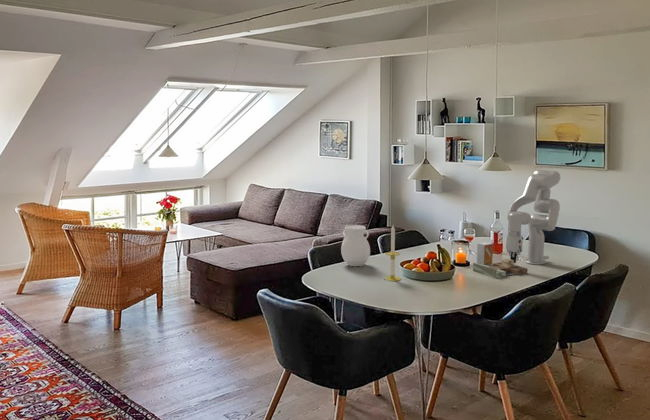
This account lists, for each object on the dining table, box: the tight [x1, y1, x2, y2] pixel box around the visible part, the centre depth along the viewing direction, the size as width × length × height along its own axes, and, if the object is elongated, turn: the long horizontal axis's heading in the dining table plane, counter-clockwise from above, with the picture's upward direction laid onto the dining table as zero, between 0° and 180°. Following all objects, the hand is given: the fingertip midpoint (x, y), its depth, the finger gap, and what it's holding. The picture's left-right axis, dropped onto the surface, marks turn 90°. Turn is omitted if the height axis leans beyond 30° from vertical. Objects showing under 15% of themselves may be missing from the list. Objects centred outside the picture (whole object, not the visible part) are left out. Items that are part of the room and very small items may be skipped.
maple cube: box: [501, 258, 515, 268], centre depth 393 cm, size 5×5×4 cm
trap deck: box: [472, 261, 528, 279], centre depth 391 cm, size 25×20×5 cm
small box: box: [476, 242, 494, 265], centre depth 414 cm, size 8×6×13 cm
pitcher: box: [340, 224, 371, 267], centre depth 409 cm, size 19×18×25 cm
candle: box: [385, 225, 402, 282], centre depth 373 cm, size 10×10×32 cm
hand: (513, 262), depth 395 cm, fingers closed
